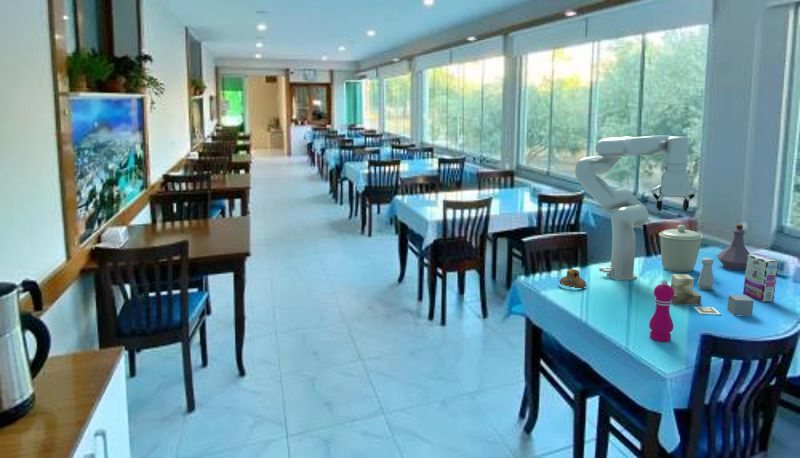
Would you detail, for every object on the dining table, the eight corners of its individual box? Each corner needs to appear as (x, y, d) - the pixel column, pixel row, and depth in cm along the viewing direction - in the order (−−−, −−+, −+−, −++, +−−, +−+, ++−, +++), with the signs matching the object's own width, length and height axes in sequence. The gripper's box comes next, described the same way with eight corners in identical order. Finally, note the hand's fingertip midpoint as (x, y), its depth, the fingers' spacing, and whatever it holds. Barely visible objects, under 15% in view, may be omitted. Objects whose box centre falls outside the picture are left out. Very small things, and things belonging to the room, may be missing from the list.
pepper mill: (650, 332, 190) (655, 275, 186) (674, 336, 186) (679, 279, 182) (646, 339, 184) (650, 281, 180) (670, 344, 180) (675, 284, 176)
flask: (707, 263, 269) (711, 222, 265) (739, 261, 271) (743, 221, 267) (730, 273, 253) (735, 229, 249) (764, 271, 255) (769, 228, 251)
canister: (707, 274, 251) (712, 228, 247) (666, 275, 252) (670, 229, 247) (687, 263, 269) (691, 220, 265) (649, 264, 269) (653, 221, 265)
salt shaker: (714, 291, 230) (718, 260, 227) (699, 290, 231) (702, 259, 228) (710, 286, 235) (713, 256, 232) (695, 286, 236) (698, 256, 234)
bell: (572, 281, 247) (573, 265, 246) (592, 288, 237) (593, 271, 235) (551, 285, 242) (552, 268, 241) (571, 292, 232) (572, 276, 230)
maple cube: (675, 293, 217) (677, 278, 216) (670, 288, 223) (671, 274, 221) (692, 294, 216) (693, 279, 215) (686, 289, 222) (688, 274, 221)
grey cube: (733, 315, 203) (735, 300, 202) (727, 309, 209) (728, 294, 208) (751, 316, 202) (753, 300, 201) (744, 310, 208) (746, 295, 207)
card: (700, 314, 205) (700, 312, 205) (693, 307, 212) (693, 306, 212) (720, 314, 204) (720, 313, 204) (713, 308, 211) (713, 306, 210)
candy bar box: (774, 302, 216) (779, 261, 212) (762, 302, 215) (767, 261, 212) (754, 292, 227) (758, 253, 223) (742, 293, 226) (746, 254, 223)
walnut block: (673, 305, 215) (674, 296, 214) (662, 297, 225) (663, 287, 224) (700, 305, 215) (701, 295, 214) (688, 297, 225) (689, 287, 224)
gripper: (655, 169, 220) (652, 211, 224) (702, 168, 218) (698, 212, 221) (650, 167, 228) (646, 208, 231) (695, 166, 225) (691, 208, 229)
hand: (672, 210), depth 226 cm, fingers open, 9 cm apart
